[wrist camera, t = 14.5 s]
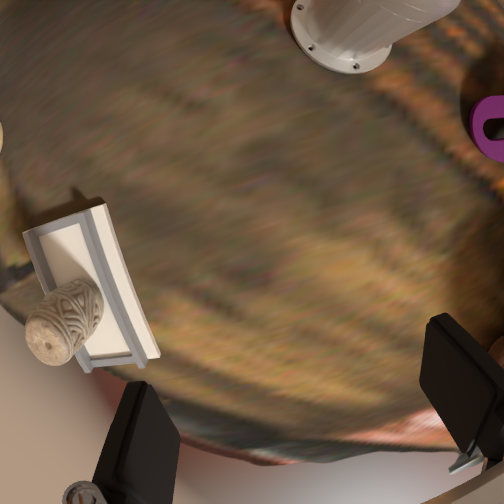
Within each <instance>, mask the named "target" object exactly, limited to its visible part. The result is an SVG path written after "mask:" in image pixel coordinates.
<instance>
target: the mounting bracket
mask: <svg viewBox="0 0 504 504" xmlns="http://www.w3.org/2000/svg"><path fill="white" fill-rule="evenodd" d="M491 118H504V95H500V96H487V97H484V98H481V99H480V100H478V101H477V102H476V103H475V105H474V106H473V108H472V110H471V112H470V116H469V128H470V133H471V137H472V139H473V142H474V144H475V146H476V147H477V148H478V149H479V151H480V152H481V153H483V154H484V155H485V156H487V157H489V158H491V159H493V160H495V161H498V162H504V138H502V139H491V140H488V139H487V138H486V137H485V135H484V132H483V124H484V122H485V121H486V120H487V119H491Z"/></svg>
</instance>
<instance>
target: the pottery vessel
mask: <svg viewBox="0 0 504 504" xmlns="http://www.w3.org/2000/svg"><path fill="white" fill-rule="evenodd" d="M488 353H489V354H490V355H491V356H492V358H493V359H494V360H495V361H496V362H497V363H498V364H499V365H500V366H501V367H502V368H503V369H504V335H503V336H501V337H500V338H499V339H497V340H496V341H495V342H494V343H493V345H492V346H491V348H490V349H489V351H488Z"/></svg>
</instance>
